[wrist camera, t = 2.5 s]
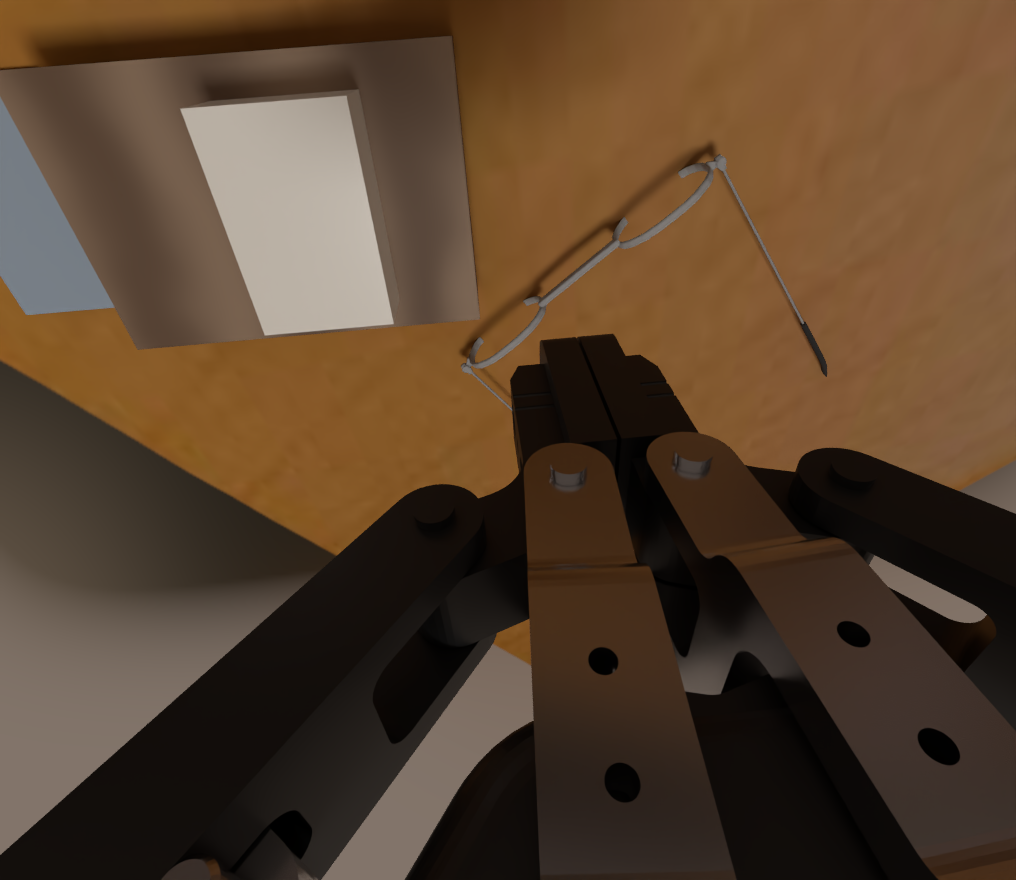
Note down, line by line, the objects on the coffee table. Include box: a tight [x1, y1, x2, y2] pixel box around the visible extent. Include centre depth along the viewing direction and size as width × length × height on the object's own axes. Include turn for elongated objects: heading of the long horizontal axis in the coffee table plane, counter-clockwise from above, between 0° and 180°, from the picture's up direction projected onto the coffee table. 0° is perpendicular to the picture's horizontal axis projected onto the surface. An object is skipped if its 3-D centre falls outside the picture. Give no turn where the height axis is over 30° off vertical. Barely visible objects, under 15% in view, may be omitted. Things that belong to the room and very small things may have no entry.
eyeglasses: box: [461, 154, 827, 411], centre depth 34 cm, size 18×19×4 cm
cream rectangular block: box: [180, 89, 399, 335], centre depth 23 cm, size 6×9×3 cm, turn 4°
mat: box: [0, 97, 114, 315], centre depth 27 cm, size 7×11×1 cm, turn 4°
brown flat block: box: [0, 36, 480, 350], centre depth 26 cm, size 18×12×4 cm, turn 94°
